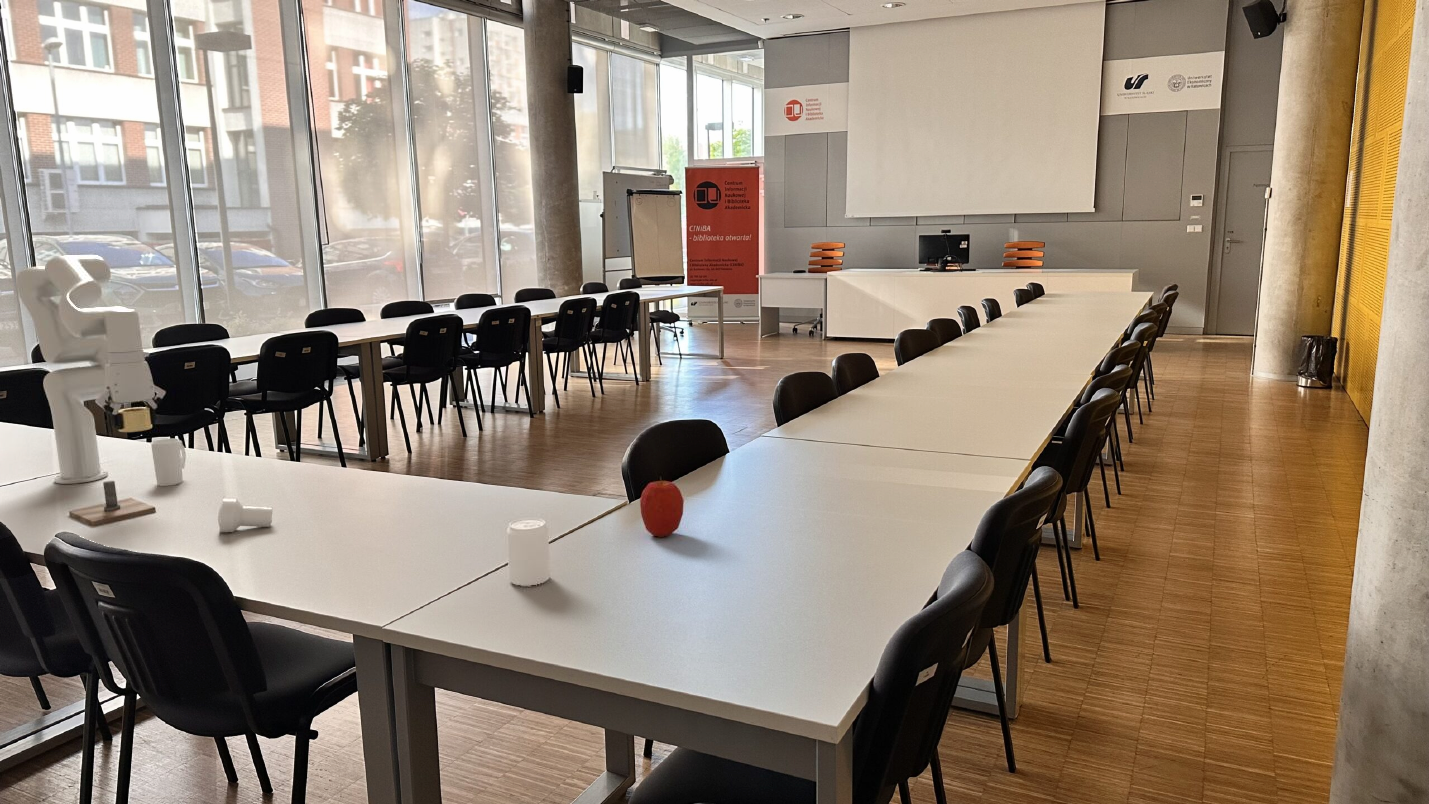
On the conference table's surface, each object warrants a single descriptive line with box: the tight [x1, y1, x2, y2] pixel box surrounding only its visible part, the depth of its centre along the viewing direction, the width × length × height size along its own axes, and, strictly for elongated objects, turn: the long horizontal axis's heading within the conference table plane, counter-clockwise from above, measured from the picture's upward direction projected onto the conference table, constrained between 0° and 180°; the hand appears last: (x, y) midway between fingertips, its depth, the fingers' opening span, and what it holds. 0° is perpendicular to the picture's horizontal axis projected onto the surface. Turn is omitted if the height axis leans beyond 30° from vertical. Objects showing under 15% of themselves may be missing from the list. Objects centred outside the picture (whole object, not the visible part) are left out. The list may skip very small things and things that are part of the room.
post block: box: [68, 480, 157, 527], centre depth 230 cm, size 14×14×8 cm
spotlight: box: [217, 497, 273, 533], centre depth 218 cm, size 8×11×8 cm
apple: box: [639, 476, 685, 538], centre depth 212 cm, size 10×10×14 cm
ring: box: [118, 406, 153, 433], centre depth 238 cm, size 7×7×5 cm
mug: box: [150, 438, 187, 487], centre depth 259 cm, size 10×7×12 cm, turn 169°
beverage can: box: [506, 517, 551, 587], centre depth 185 cm, size 8×8×12 cm
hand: (135, 425), depth 238 cm, fingers closed on ring, 7 cm apart
